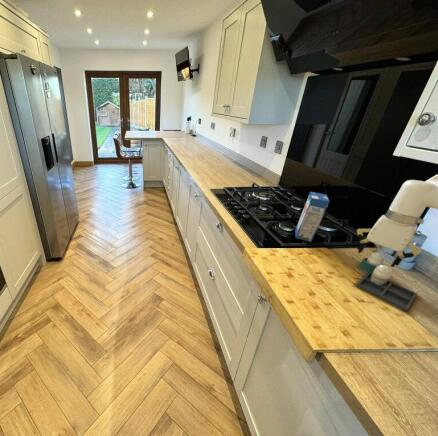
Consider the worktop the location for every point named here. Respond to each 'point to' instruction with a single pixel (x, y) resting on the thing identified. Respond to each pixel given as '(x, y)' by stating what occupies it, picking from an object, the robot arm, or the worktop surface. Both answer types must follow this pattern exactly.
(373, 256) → the egg
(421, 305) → the worktop surface
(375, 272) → the egg
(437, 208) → the robot arm
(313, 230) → the milk carton
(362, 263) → the egg cup
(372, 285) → the egg tray
